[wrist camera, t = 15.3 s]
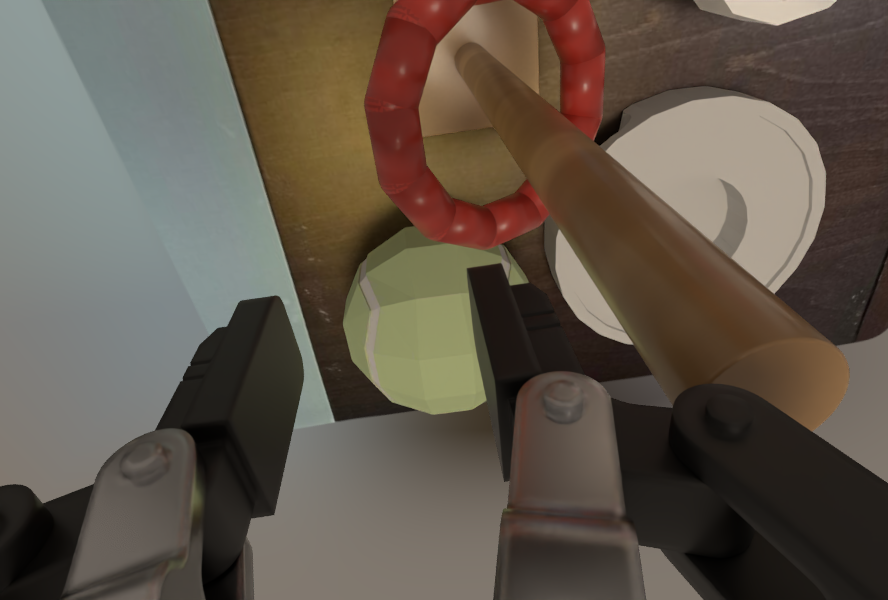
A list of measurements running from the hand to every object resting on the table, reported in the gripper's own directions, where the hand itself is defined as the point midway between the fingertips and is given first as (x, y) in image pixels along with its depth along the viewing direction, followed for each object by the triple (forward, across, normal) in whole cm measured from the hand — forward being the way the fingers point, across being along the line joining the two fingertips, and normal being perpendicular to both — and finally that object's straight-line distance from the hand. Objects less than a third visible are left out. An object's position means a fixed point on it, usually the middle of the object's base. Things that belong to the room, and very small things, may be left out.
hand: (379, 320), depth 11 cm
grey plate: (+34, -23, +16) cm, 44 cm away
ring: (+16, -5, 0) cm, 17 cm away
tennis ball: (+34, -1, +18) cm, 38 cm away
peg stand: (+34, -6, 0) cm, 34 cm away
